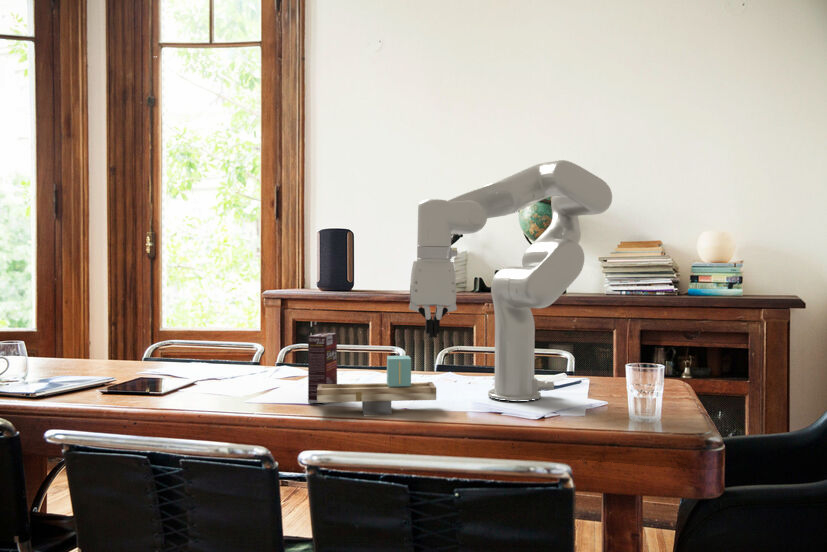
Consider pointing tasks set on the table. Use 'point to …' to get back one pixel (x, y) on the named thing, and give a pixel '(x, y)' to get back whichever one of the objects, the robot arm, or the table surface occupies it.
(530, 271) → the robot arm
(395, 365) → the block
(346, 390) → the beam
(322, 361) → the supplement box
